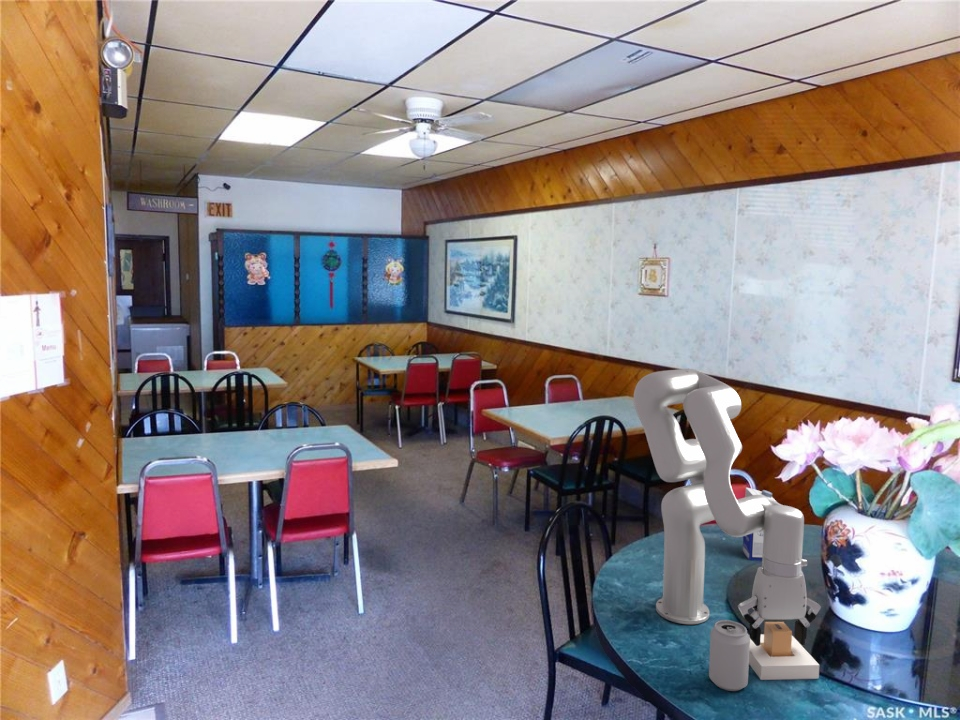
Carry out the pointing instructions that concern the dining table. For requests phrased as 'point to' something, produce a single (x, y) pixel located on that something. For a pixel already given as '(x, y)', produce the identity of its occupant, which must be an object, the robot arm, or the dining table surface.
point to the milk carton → (755, 540)
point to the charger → (777, 639)
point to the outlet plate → (783, 663)
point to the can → (729, 655)
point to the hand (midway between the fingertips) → (777, 642)
